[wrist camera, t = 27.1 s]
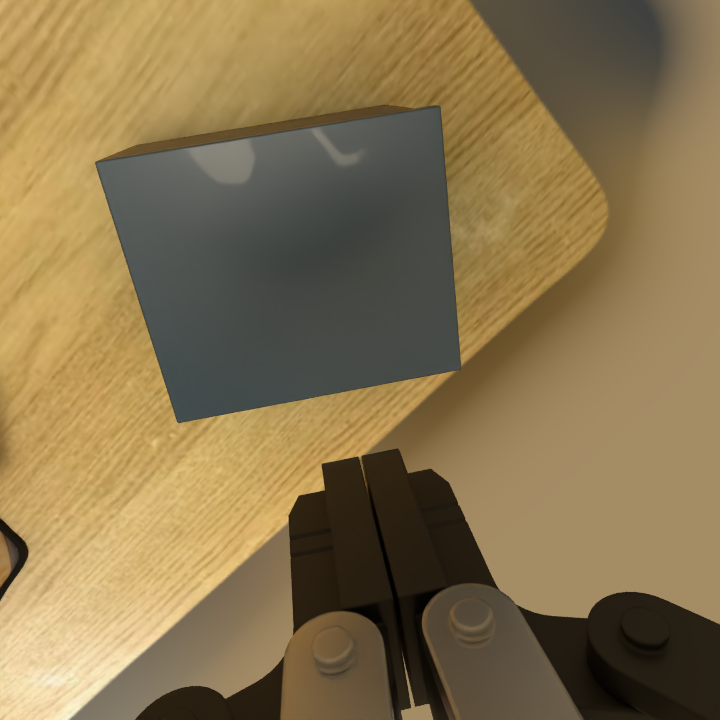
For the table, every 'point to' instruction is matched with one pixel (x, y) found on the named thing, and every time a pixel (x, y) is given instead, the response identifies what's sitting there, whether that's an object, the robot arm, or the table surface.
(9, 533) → the figurine
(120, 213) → the lid
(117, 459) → the table surface
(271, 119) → the table surface
